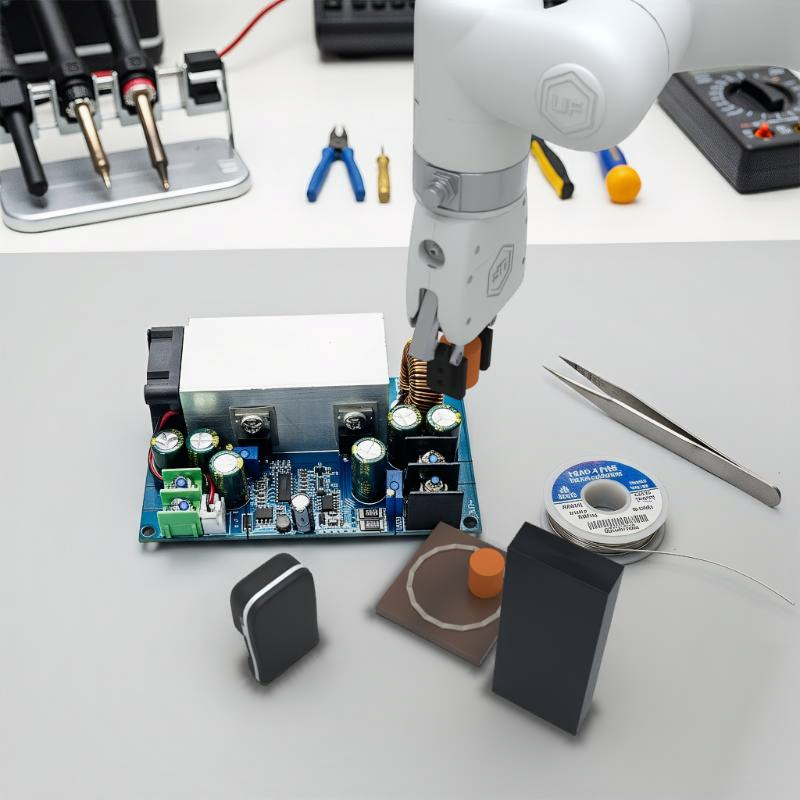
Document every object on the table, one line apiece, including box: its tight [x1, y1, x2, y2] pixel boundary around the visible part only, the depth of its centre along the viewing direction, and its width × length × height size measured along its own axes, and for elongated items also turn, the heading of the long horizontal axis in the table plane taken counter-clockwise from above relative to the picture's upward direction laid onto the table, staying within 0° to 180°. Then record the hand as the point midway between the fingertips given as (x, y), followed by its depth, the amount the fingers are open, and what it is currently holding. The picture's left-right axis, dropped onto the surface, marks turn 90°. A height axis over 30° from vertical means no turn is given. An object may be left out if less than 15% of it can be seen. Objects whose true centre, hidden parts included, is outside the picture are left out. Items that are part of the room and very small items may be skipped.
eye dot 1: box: [438, 333, 481, 391], centre depth 76 cm, size 3×3×4 cm
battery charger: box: [229, 552, 320, 685], centre depth 85 cm, size 7×4×11 cm, turn 134°
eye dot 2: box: [468, 548, 505, 598], centre depth 92 cm, size 3×3×4 cm
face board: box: [375, 521, 507, 668], centre depth 93 cm, size 11×12×1 cm
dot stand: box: [491, 520, 626, 736], centre depth 79 cm, size 8×3×20 cm, turn 58°
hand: (458, 375), depth 77 cm, fingers closed on eye dot 1, 3 cm apart
